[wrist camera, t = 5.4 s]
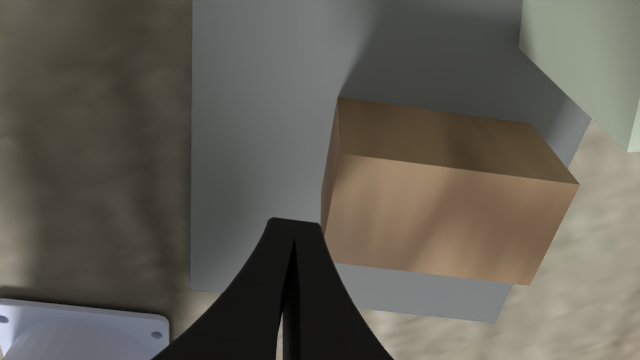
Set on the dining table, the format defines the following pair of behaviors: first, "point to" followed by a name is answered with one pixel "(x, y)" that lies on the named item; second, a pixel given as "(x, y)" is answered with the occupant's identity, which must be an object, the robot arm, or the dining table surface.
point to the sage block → (590, 58)
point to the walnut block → (440, 192)
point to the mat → (318, 114)
